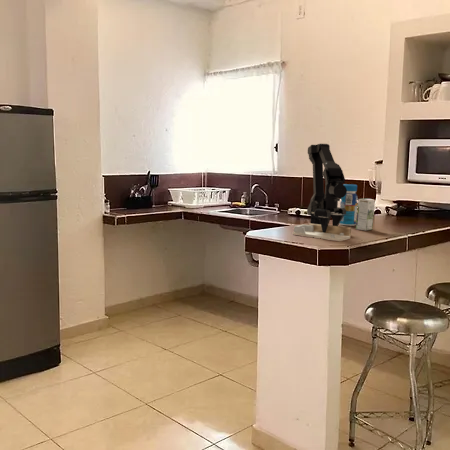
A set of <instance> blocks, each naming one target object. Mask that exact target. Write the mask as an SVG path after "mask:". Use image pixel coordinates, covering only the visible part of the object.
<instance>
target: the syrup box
mask: <svg viewBox="0 0 450 450" xmlns="http://www.w3.org/2000/svg"><path fill="white" fill-rule="evenodd" d="M357 203H358V206H357V216H356V225H355V230H359V231H371V230H373V227H374V216H375V207H376V206H375V204H376V200H375V199H372V198H358V200H357Z"/></svg>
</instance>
